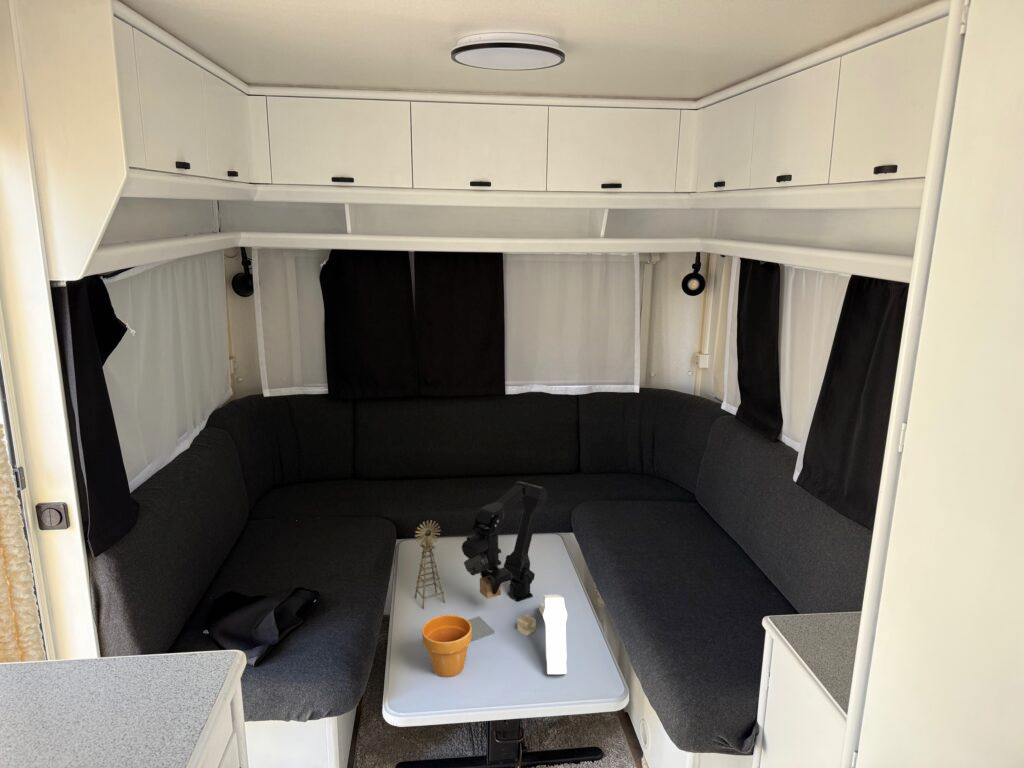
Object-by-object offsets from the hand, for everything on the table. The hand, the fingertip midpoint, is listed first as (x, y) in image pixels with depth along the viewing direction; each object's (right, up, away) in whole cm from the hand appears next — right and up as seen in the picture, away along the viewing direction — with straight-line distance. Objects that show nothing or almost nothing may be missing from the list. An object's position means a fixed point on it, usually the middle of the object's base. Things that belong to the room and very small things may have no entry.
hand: (490, 590), depth 226 cm
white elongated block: (+20, -13, -12) cm, 26 cm away
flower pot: (-12, -16, -24) cm, 31 cm away
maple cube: (+12, -11, -6) cm, 17 cm away
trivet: (-5, -11, -5) cm, 13 cm away
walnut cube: (0, -1, 0) cm, 1 cm away
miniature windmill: (-21, -7, +13) cm, 26 cm away
